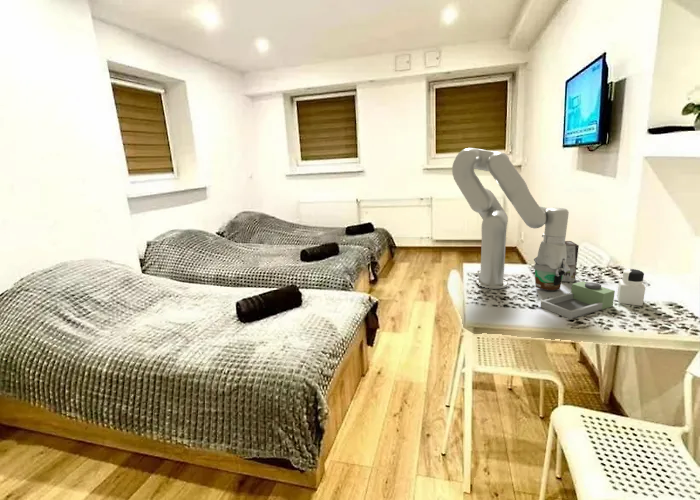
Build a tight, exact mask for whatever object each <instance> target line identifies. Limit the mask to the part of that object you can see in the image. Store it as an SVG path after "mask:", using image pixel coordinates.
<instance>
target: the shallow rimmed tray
mask: <svg viewBox="0 0 700 500" xmlns="http://www.w3.org/2000/svg"><path fill="white" fill-rule="evenodd" d="M570 291H571V292H568V293H564V294H561V295H557V296H554V297H550V298H546V299H543V300H540V308H542V309H545V310H548V311H550V312H552V313H554V314H556V315H560V316H561V317H564V318H567V319H569V320H573V319H576V318H579V317H582V316H585V315H586V316H587V315H589V314H592V313H594V312H595V313H596V312H599V311H603V310H605V309H608V308H611V307H613V306H614V299H615V293H616V291H615V290H614V289H612V288H611V289H610V288H607V287H603V286H602V284H601V283H599V282H598V283H597V282H591V281H590V282H589V281H588V282H587V281H579V282H573V283H571V290H570Z"/></svg>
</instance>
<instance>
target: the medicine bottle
mask: <svg viewBox="0 0 700 500" xmlns="http://www.w3.org/2000/svg"><path fill="white" fill-rule="evenodd" d="M622 272H623V273H622V276H621V278H622V279H620V278H619V280H618V286H617V291H616V292H617V294H616V298H617V302H618V304H624V305H633V306H639V307H643V305H644V304H643V303H644V300H645V299H644V298H645V293H646V292H645V291H646V286H645V284H644V282H643V281H644V278H645V277H644V275H645V273H644V271H641V270H640V269H635V268H629V269H623V271H622Z"/></svg>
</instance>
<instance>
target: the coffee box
mask: <svg viewBox="0 0 700 500" xmlns="http://www.w3.org/2000/svg"><path fill="white" fill-rule="evenodd" d="M565 244H566V263H567V265H568V266H569V268H570V270H569V271H568V272H567V273H565V274H564V275H563V276H562V281H561V282H573V283H576V282H575V281H576V274H577V273H576V272H577V265H578V256H579V249H580V248H579V246H580V245H579V244H577V243H575V242H573V241H572V240H565Z"/></svg>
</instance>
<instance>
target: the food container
mask: <svg viewBox="0 0 700 500" xmlns="http://www.w3.org/2000/svg"><path fill="white" fill-rule="evenodd" d="M560 268H561V267H560ZM533 270H534V282H535V288H536V289H540V290H543V291H559V290H560V289H561V284H562V283H561V284H560V285H556V286H555V285H554V277H555V276H556V273H555V272H556V270H554V269H551V268H550V267H549V266H541V265H537V264H536V263H534V265H533ZM562 270H564V268H562ZM559 272H561V269H559ZM562 276H563V275H562ZM561 282H563V281H562V278H561Z"/></svg>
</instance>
